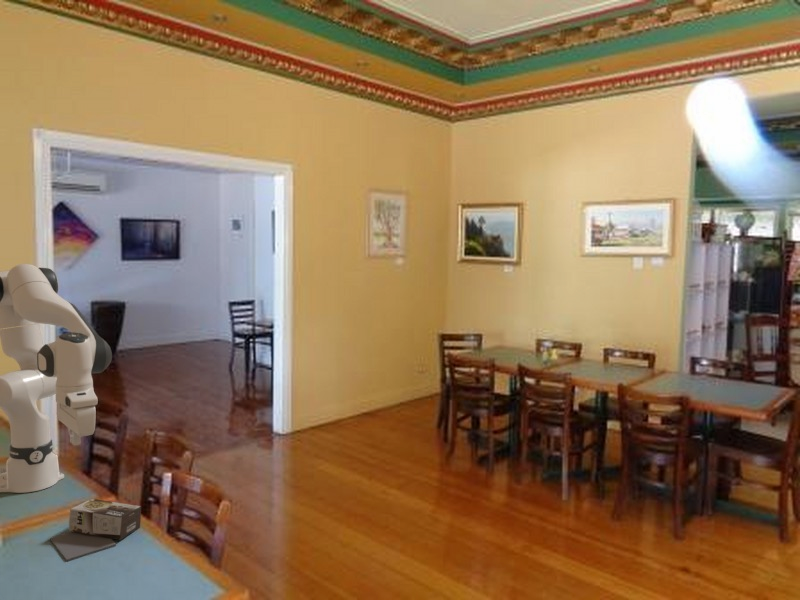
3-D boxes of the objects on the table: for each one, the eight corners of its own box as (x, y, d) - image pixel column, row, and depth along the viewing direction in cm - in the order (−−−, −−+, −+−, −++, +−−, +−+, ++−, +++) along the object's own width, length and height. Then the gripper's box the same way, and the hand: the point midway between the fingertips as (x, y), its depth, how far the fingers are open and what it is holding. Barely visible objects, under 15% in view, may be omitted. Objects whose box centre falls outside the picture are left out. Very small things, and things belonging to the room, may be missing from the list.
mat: (50, 539, 162) (50, 537, 162) (97, 525, 170) (97, 524, 170) (66, 561, 151) (66, 559, 151) (116, 545, 160) (116, 543, 160)
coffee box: (67, 531, 164) (119, 541, 161) (69, 508, 164) (121, 517, 161) (91, 519, 173) (140, 528, 170) (92, 497, 173) (142, 505, 170)
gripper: (50, 387, 165) (51, 436, 167) (73, 403, 151) (74, 456, 152) (75, 384, 170) (76, 431, 171) (100, 399, 155) (100, 451, 157)
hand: (75, 443), depth 161 cm, fingers closed
